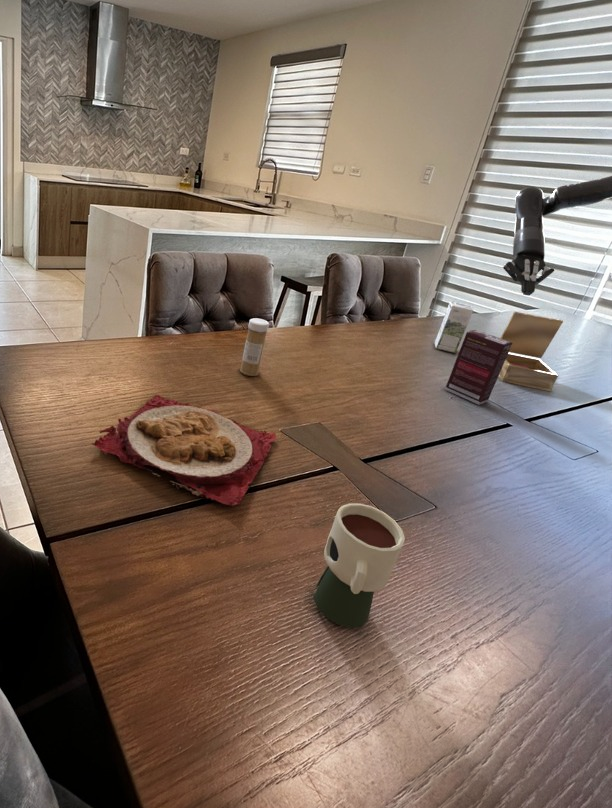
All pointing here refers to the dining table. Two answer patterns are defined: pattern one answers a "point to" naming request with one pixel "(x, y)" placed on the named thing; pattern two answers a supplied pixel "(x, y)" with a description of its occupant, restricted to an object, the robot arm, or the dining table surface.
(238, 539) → the dining table surface
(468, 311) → the syrup box
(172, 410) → the plate with food
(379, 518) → the character mug
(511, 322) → the box lid
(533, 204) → the robot arm
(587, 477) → the dining table surface
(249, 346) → the sprinkles bottle
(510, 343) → the supplement box
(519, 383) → the box
